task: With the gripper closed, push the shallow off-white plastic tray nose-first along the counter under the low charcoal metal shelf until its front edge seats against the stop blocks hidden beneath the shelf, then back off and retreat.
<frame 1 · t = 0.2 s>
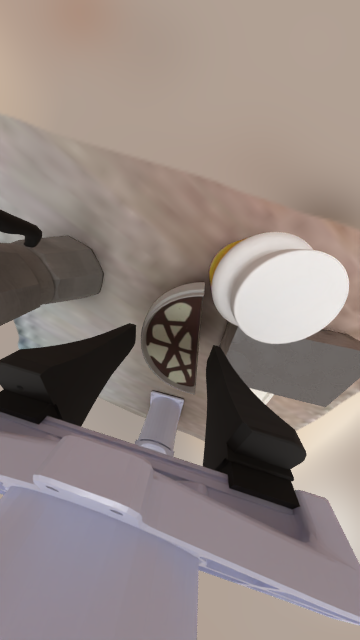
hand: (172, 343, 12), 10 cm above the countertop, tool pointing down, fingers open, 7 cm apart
food container: (182, 310, 22), on the countertop
shelf: (267, 355, 22), on the countertop
supplement bottle: (234, 271, 18), on the countertop
coffeepot: (82, 265, 21), on the countertop
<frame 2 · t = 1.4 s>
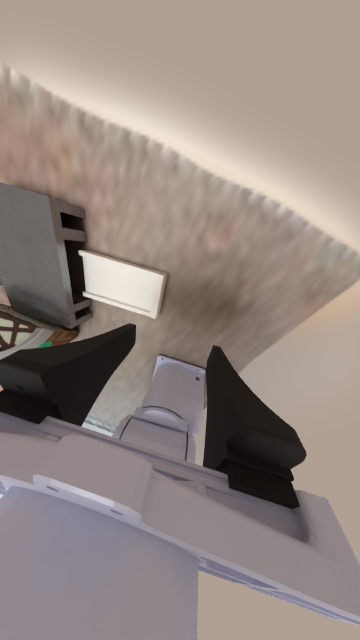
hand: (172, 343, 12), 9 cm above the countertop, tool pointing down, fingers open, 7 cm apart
food container: (48, 336, 26), point 2 cm above the countertop, touching shelf
tray: (126, 284, 21), on the countertop
shelf: (68, 266, 21), on the countertop
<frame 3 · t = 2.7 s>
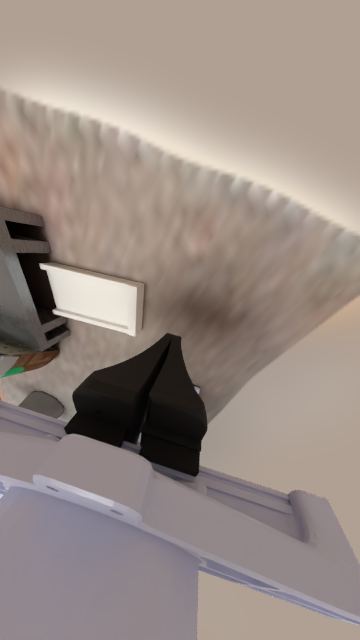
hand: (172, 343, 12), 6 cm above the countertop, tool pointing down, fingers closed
food container: (26, 357, 24), point 2 cm above the countertop, touching shelf
tray: (100, 297, 18), on the countertop
shelf: (36, 281, 19), on the countertop
coffeepot: (45, 399, 34), on the countertop
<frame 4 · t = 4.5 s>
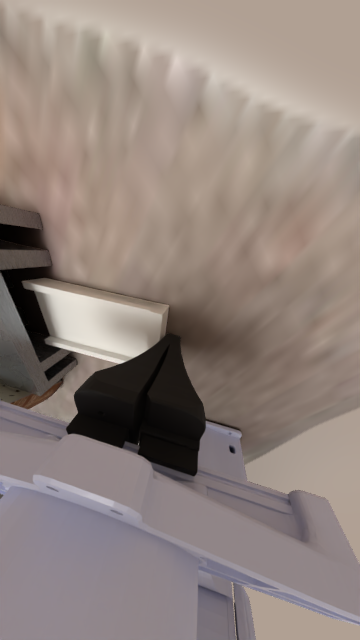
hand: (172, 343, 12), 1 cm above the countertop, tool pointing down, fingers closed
food container: (23, 390, 19), point 2 cm above the countertop, touching shelf
tray: (108, 322, 13), on the countertop, touching gripper
shelf: (33, 301, 14), on the countertop
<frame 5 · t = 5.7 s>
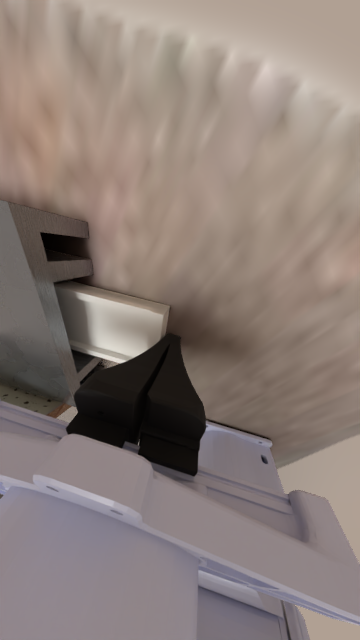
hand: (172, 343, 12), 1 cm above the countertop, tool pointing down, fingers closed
food container: (46, 397, 19), point 2 cm above the countertop, touching shelf
tray: (107, 321, 13), on the countertop, touching gripper
shelf: (66, 310, 14), on the countertop
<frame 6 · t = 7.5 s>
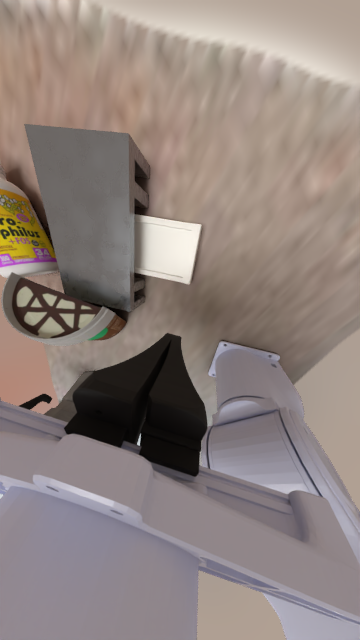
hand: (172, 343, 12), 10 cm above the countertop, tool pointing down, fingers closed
food container: (95, 328, 24), point 2 cm above the countertop, touching shelf
tray: (153, 249, 18), on the countertop
shelf: (123, 243, 19), on the countertop
supplement bottle: (37, 275, 20), point 3 cm above the countertop
coffeepot: (95, 380, 34), on the countertop
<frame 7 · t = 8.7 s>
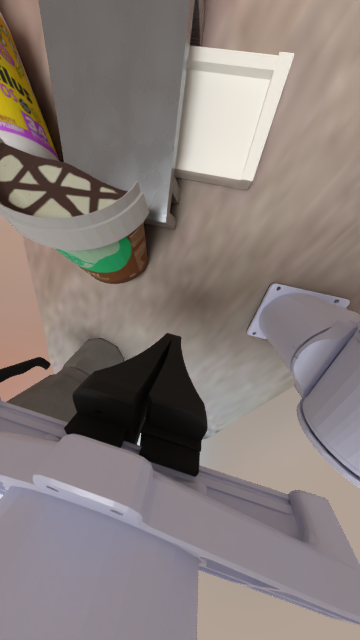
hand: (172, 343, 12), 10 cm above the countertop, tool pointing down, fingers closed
food container: (108, 270, 19), point 2 cm above the countertop, touching shelf
tray: (198, 134, 13), on the countertop
shelf: (154, 126, 13), on the countertop
supplement bottle: (29, 176, 14), point 3 cm above the countertop
coffeepot: (101, 350, 29), on the countertop
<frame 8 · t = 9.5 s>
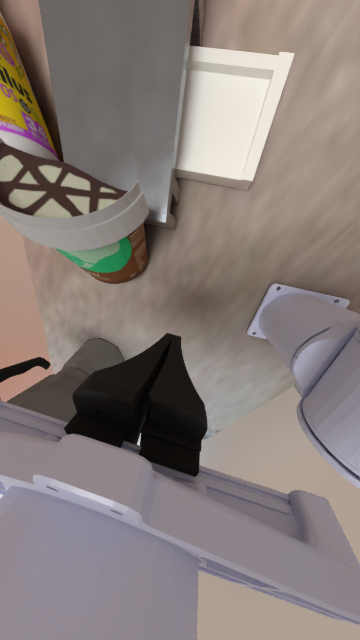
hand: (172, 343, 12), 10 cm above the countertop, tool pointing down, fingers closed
food container: (108, 270, 19), point 2 cm above the countertop, touching shelf
tray: (198, 134, 13), on the countertop
shelf: (154, 126, 13), on the countertop
supplement bottle: (29, 176, 14), point 3 cm above the countertop
coffeepot: (101, 350, 29), on the countertop
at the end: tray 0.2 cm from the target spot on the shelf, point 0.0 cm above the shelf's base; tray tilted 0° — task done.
